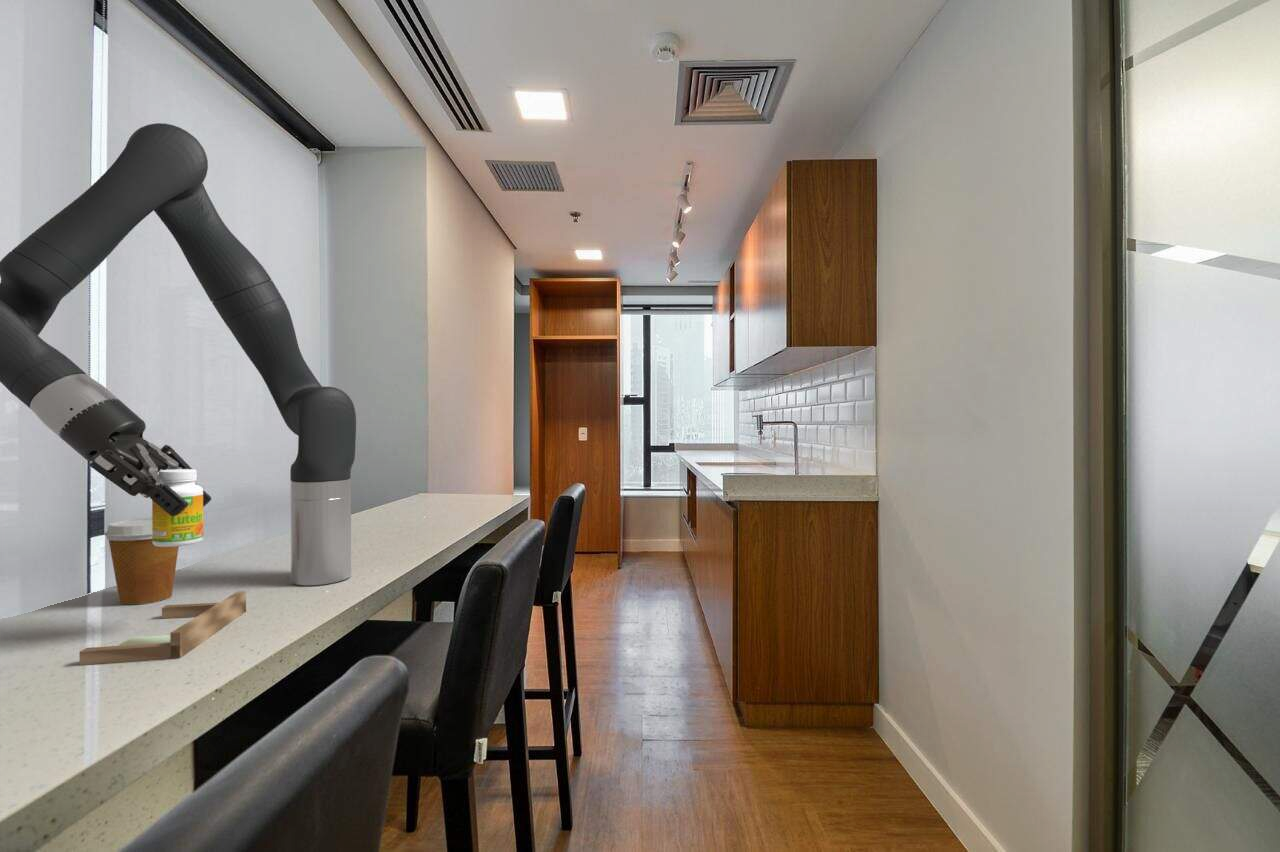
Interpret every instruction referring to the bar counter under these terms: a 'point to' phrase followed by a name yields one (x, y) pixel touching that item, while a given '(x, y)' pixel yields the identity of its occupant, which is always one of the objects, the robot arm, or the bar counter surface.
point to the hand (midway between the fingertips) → (193, 507)
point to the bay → (172, 633)
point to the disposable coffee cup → (140, 562)
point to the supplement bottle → (189, 521)
